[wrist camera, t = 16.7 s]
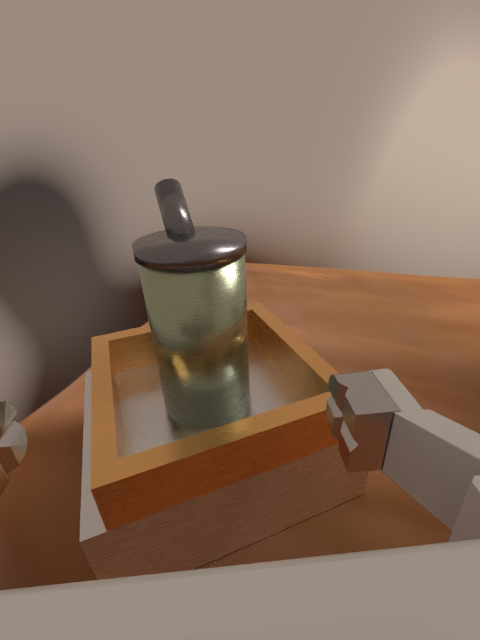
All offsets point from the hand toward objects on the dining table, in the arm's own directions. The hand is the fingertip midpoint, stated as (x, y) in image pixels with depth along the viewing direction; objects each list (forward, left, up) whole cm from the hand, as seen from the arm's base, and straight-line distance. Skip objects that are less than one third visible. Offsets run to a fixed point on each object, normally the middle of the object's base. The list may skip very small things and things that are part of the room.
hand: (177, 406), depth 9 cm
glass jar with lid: (-3, -8, -7) cm, 11 cm away
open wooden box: (-3, -10, -12) cm, 16 cm away
